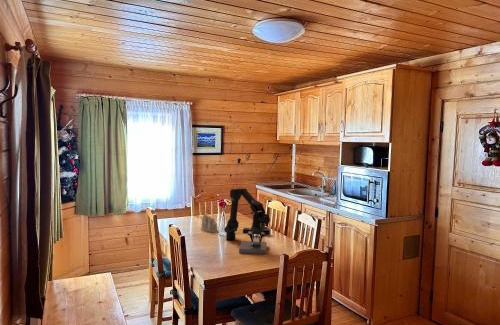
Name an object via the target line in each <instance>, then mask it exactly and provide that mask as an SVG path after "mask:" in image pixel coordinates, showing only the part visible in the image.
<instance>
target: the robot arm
mask: <svg viewBox="0 0 500 325" xmlns="http://www.w3.org/2000/svg"><path fill="white" fill-rule="evenodd" d="M229 192H230V193H229V197H230V199H231V203H230V204H231V205H230V215H229V219H228V220H227V223H226V225H225V227H224V228H223V230H224V233H226V235H225V241H235V240H236V238H237V237H236V236H237V235H236V234H237V233H236V232H237V231H238V228H239V224H240V222H239V221H238V219H237V218H238V207H239V200H241V198H242V197H243V198H244V199H245V201H246V202H247V203H248V204H249V207H250V210H251V212H250V214H251V215H252V223H253V227H252V226H251V227H252V229H250V227H244V228H243V229H242V234H244V235H247V236H249V238H250V241H252V243H253V234H257V235H259V234H260V233H261V235H260V243H261V242H262V239H263V238H264V236H267V235H268V236H269V235H270V234H271V229H270V228H268V229H264V230H263V228H262V227H261V223H263V224H265V225H268V224H270V222H271V218H270V216H269V214H268V213H266V210H265V208H264V205H263V204H262V203H261V202H260V201H259V200H256V199H255V198H254V197H253V195H251V193H250V192H249V191H248V189H247V188H244V187H243V188H232V189H231V190H230V191H229Z"/></svg>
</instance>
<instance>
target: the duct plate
mask: <svg viewBox="0 0 500 325" xmlns="http://www.w3.org/2000/svg"><path fill="white" fill-rule="evenodd" d="M240 242H241V243H240V245H239V247H238V254H247V255H249V254H251V255H266V252H267V245H268V243H267V241H261V243H260V246H259V247H253V243H252V241H251V240H242V241H240Z"/></svg>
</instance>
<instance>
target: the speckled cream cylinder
mask: <svg viewBox="0 0 500 325" xmlns="http://www.w3.org/2000/svg"><path fill="white" fill-rule="evenodd" d="M252 235H253V247H259V246H260V237H261V235H260V234H259V235H257V234H252Z"/></svg>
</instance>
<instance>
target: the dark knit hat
mask: <svg viewBox="0 0 500 325" xmlns="http://www.w3.org/2000/svg"><path fill="white" fill-rule="evenodd" d="M252 227H253V222H252V223H251V226H250V227H249V229H252ZM261 227H262V228H263V230H264V229H269V228H268V227H267V226H266V224H263V223H261ZM260 236H261V233H260Z"/></svg>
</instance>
